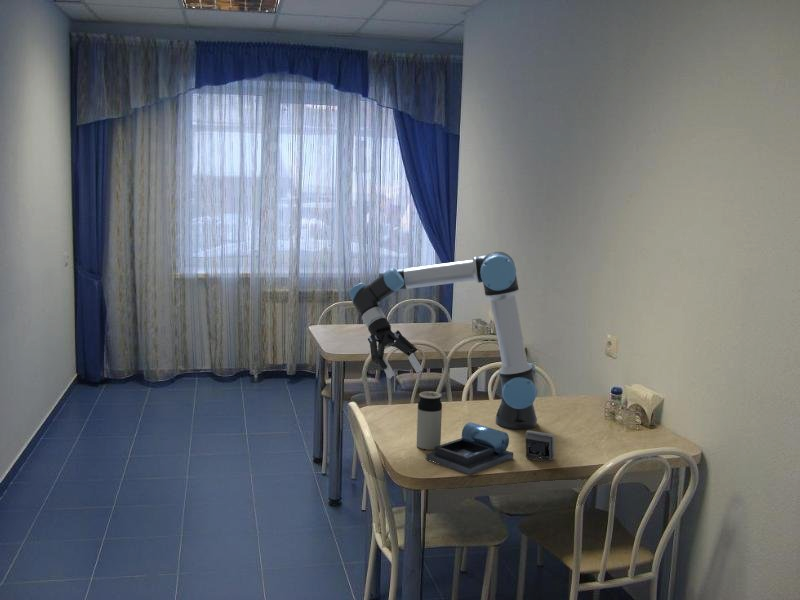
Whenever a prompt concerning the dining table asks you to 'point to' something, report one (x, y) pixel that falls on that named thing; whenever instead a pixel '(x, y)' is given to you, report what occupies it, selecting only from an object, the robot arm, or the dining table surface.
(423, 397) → the travel mug
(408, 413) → the dining table surface
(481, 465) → the base
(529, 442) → the electrical switch
